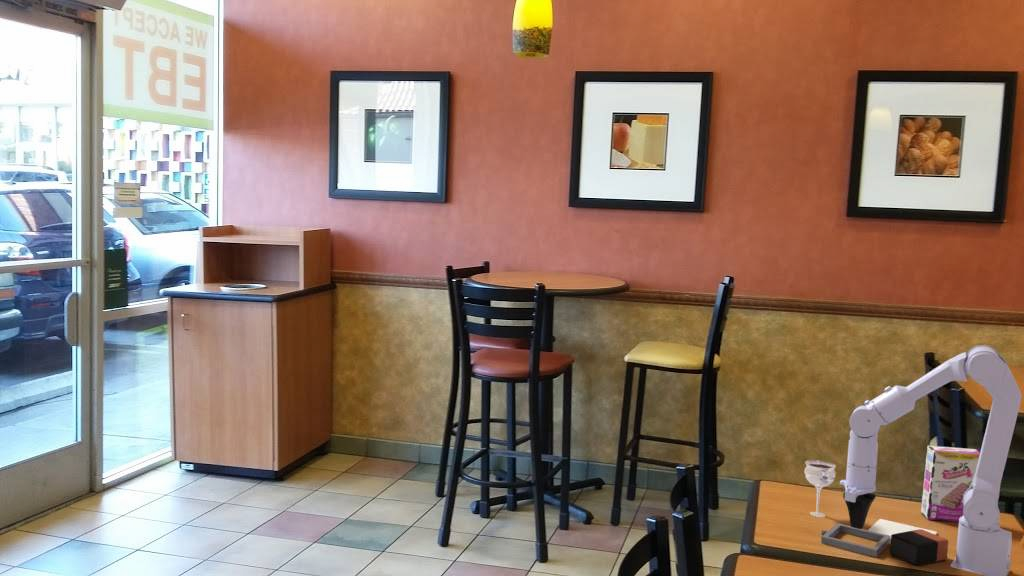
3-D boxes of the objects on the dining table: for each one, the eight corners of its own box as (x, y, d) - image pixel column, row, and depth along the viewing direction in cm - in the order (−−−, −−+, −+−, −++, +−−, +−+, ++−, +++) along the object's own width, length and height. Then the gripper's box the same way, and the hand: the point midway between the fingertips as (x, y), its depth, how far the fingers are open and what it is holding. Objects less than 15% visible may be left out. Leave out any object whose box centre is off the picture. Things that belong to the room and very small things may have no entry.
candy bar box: (927, 520, 202) (933, 450, 201) (920, 513, 207) (925, 444, 206) (979, 524, 201) (985, 453, 200) (969, 517, 206) (975, 448, 205)
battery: (888, 554, 180) (921, 547, 184) (917, 566, 174) (950, 559, 178) (890, 533, 180) (923, 527, 184) (918, 545, 174) (952, 538, 178)
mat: (937, 533, 194) (937, 531, 194) (924, 548, 184) (924, 546, 184) (879, 520, 201) (879, 518, 201) (865, 534, 191) (865, 532, 191)
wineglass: (799, 517, 201) (803, 465, 200) (802, 508, 207) (806, 458, 206) (831, 522, 198) (835, 470, 197) (833, 513, 204) (837, 462, 203)
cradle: (890, 542, 187) (890, 535, 187) (876, 557, 178) (876, 550, 178) (830, 528, 194) (830, 521, 194) (813, 541, 185) (814, 534, 185)
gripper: (852, 453, 192) (847, 514, 193) (831, 467, 181) (826, 531, 182) (886, 459, 188) (881, 522, 189) (867, 474, 177) (862, 540, 178)
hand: (856, 527), depth 185 cm, fingers closed
